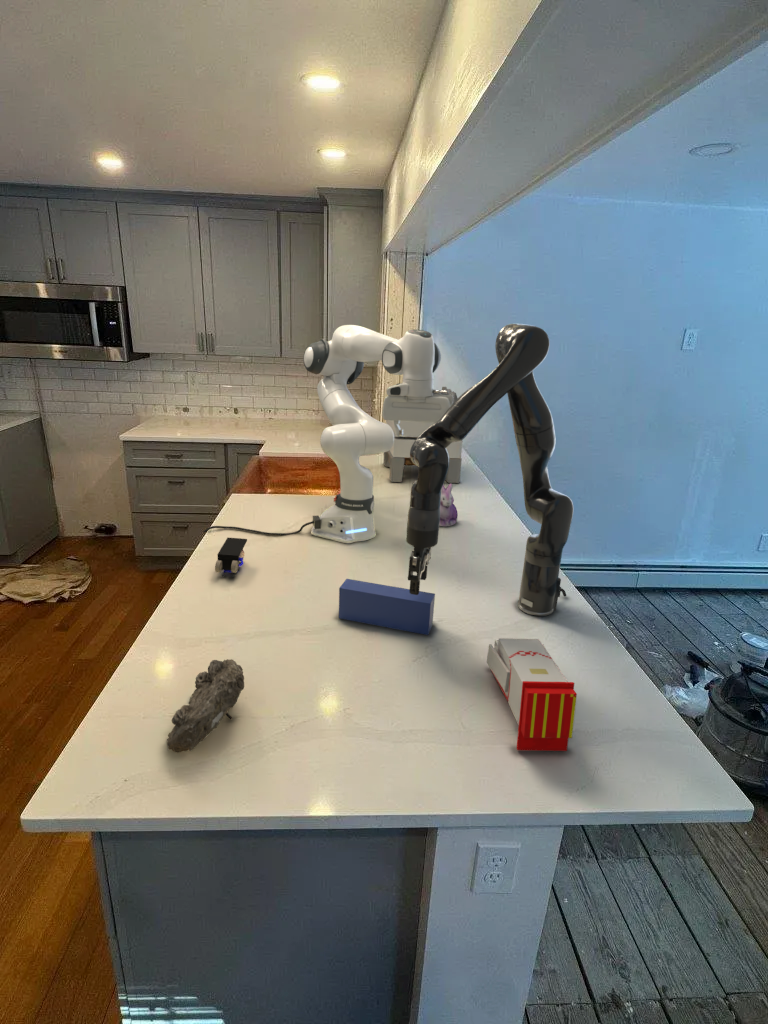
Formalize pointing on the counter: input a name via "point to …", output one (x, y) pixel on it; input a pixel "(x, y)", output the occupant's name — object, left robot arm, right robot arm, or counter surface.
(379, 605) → the block
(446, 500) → the figurine
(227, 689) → the fossil
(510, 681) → the toy
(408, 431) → the transformer
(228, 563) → the figurine character
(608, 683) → the counter surface
